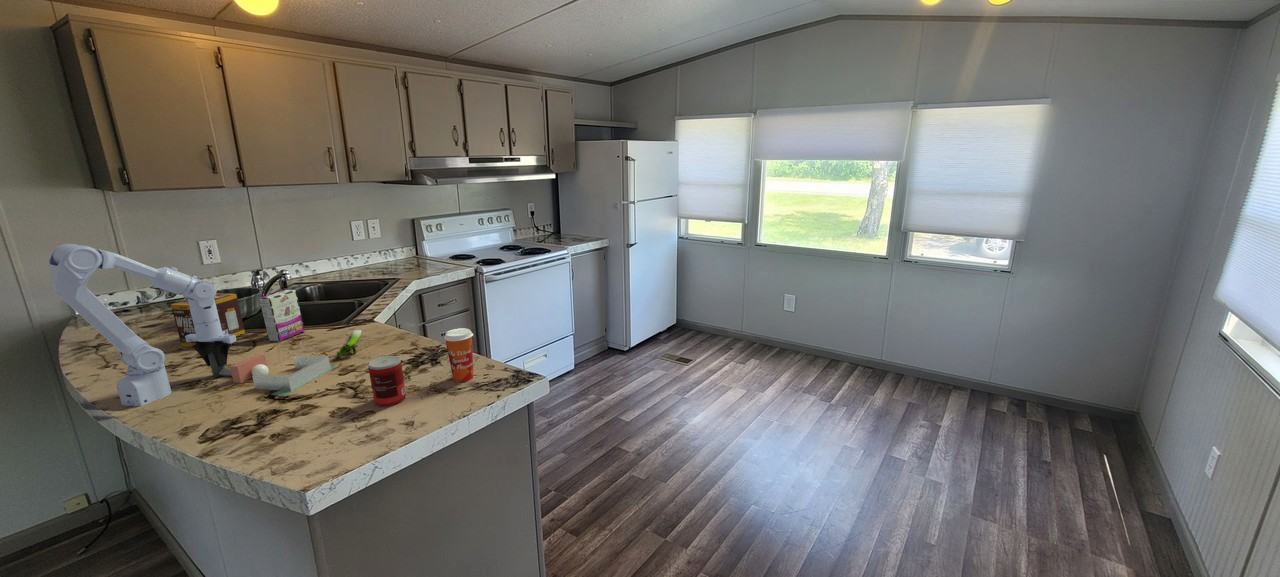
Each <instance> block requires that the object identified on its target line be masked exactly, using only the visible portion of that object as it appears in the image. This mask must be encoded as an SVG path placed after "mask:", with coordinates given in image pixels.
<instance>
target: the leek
mask: <svg viewBox="0 0 1280 577" xmlns="http://www.w3.org/2000/svg"><path fill="white" fill-rule="evenodd" d="M362 334H363V331H362V330H361V329H356V330H355V329H354V330H352V331H351V333H350V337H351V338H350V339H349V341H348V342H347V343H344V345H343V346H342V347H339V351H337V352H336V358H338V359H339V360H342V359H343V355H344V354H346V353H347V351H349V348H350V352H351V354H352V356H354V355H353V354H355V355H356V354H357V351H356V349H357V346H356V344H357V343H358V341H359V340H360V338H361V335H362Z"/></svg>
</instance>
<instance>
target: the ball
mask: <svg viewBox="0 0 1280 577" xmlns="http://www.w3.org/2000/svg"><path fill="white" fill-rule="evenodd" d="M252 375H253V376H254V375H269V367H268V365H267V366H266V365H263V364H259V365H256V366H254V367H253V369H252Z"/></svg>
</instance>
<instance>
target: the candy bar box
mask: <svg viewBox="0 0 1280 577" xmlns="http://www.w3.org/2000/svg"><path fill="white" fill-rule="evenodd" d="M259 301H260V305H261V309H260V310H261V312H262V313H261V314H262V316H263V320H264V324H265V329H266V333H267V338H268V341H269V342H271V341H277V342H278V343H279V342H280V341H281V342H283V341H286V340H288V339H290V337H291V338H293V337H295V336H294V335H296V336H298V335H300V334H302V333H301V332H303V333H305V332H304V331H306V330H305V326H304V321H303V317H302V312H301V308H300V304H299V303H300V302H299V299H298V293H297V290H295V289H284V290H281V291H277V292H274V293H271V294H267V295H264V296H262V297H261V298H259ZM299 333H300V334H299ZM297 334H298V335H297ZM292 336H293V337H292ZM285 339H286V340H285ZM281 342H280V343H281Z"/></svg>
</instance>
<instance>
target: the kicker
mask: <svg viewBox="0 0 1280 577" xmlns="http://www.w3.org/2000/svg"><path fill="white" fill-rule="evenodd" d="M208 358H209V362H210V365H211V366H210V369H211V372H212V378H213V377H214V378H219V377H223V376H224V377H225V376H229V377H231V378H232V382H233V383H234V384H242V383H244V382H247V381H248V380H250V379H253V377H252V376H253V375H252V369H253V367H254V366H256V365H259V364H263V365H266V366H267V367H268V365H267V360H266V356H265V354H258V353H257V354H254V355H253V356H250V357H248V358H246V359H243V360H241V361H239V362H236V363H234V364H231V365H229V368H225V366H226V365H224V366H221V367H219V366H218V365H217V362H216V359H215V357H214V355H213V353H212V352H210V353H208Z"/></svg>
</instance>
